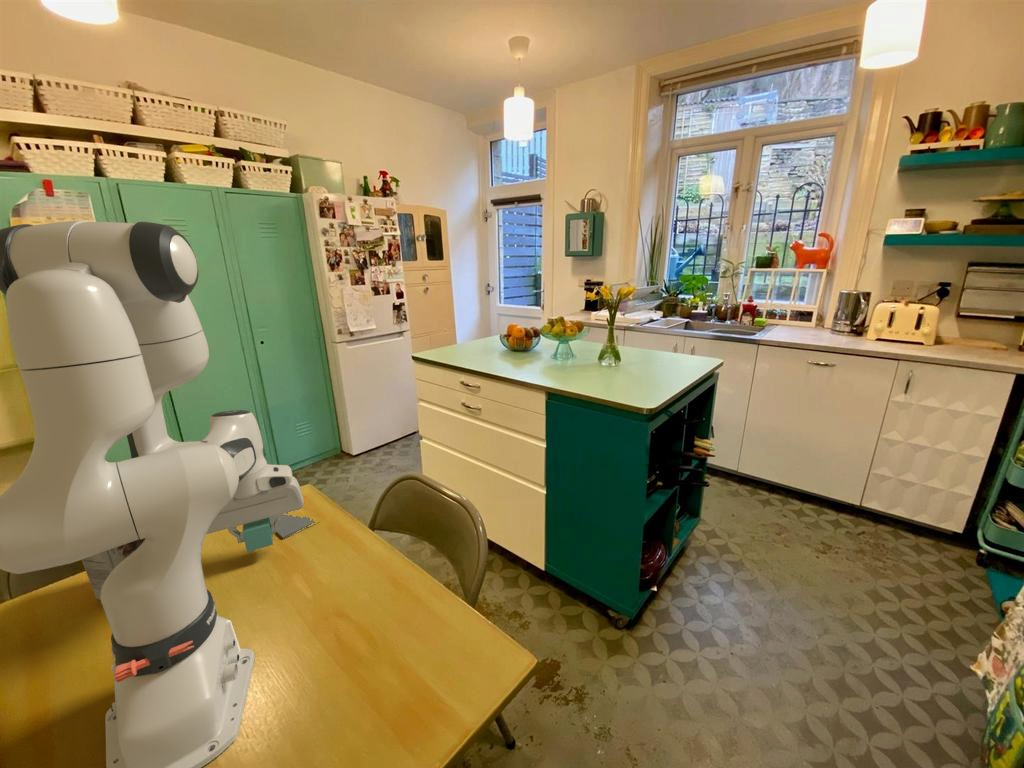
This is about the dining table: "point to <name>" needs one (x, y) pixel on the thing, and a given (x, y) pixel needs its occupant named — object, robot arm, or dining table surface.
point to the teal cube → (257, 534)
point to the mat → (291, 524)
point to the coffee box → (107, 564)
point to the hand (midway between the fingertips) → (258, 536)
